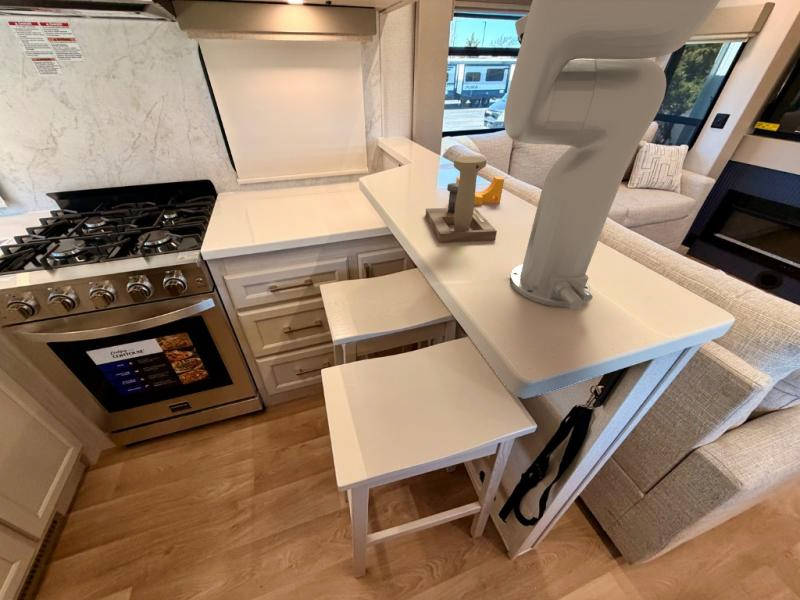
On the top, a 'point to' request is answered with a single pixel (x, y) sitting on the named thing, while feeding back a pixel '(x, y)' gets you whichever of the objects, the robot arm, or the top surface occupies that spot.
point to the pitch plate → (446, 217)
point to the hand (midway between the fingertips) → (549, 77)
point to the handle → (466, 190)
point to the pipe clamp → (489, 192)
